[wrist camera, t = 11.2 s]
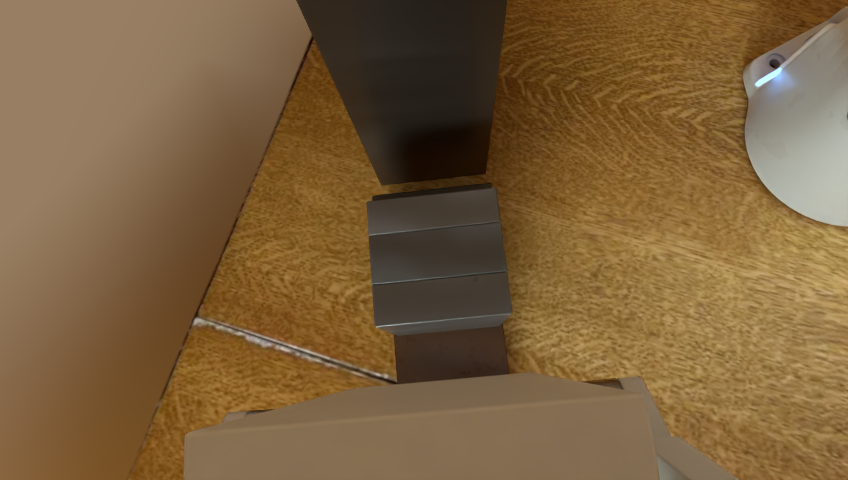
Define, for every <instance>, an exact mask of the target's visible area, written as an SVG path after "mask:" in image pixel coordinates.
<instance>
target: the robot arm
mask: <svg viewBox="0 0 848 480" xmlns="http://www.w3.org/2000/svg"><path fill="white" fill-rule="evenodd" d="M769 64H772V65H773V66H774V67H775V68H772V67H771V66H770V65H769ZM743 81H744V86H745V89H746V93H747V96H748V111H747V116H746V121H745V143H746V148H747V153H748V156H749V159H750V161H751V164H752V166H753V168H754V170H755V171H756V173H757V175H758V176H759V178H760V179H761V181H762V182H763V183H764V185H765V186H766V187H767V188H768V189H769V190H770V191H771V192H772V193H773V194H774V195H775V196H776V197H777V198H778V199H779V200H780V201H782V202H783V203H784V204H786V205H787V206H788V207H790V208H791V209H793V210H795V211H797V212H798V213H800V214H802V215H804V216H806V217H809V218H811V219H814V220H817V221H820V222H823V223H827V224H831V225H837V226H847V227H848V4H847V6H846V7H844V8H843V9H841V10H840V11H838V12H837V13H836V14H834V15H833V16H832V17H831V18H830V19H828V20H826V21H825V22H823V23H821V24H819V25H817V26H815V27H813V28H811V29H810V30H808V31H806V32H804V33H802V34H800V35H798V36H797V37H795V38H793V39H791V40H789V41H787V42H785V43H783V44H782V45H780V46H778V47H776V48H774V49H772V50H770V51H768V52H767V53H765V54H763V55H761V56H759V57H757V58H756V59H754V60H753V61H751V62H750V63H749V64H748V65H747V66H746V67H745V68H744V70H743ZM582 382H585V383H590V384H595V385H601V386H606V387H611V388H617V389H622V390H627V391H632V392H638V393H641V394H643V395H644V396H645V398H646V403H647V409H648V414H649V419H650V425H651V430H652V436H653V441H654V447H655V452H656V458H657V463H658V469H659V474H660V480H739V479H738V478H736V477H735V476H733V475H732V474H731V473H729V472H728V471H727V470H725V469H724V468H722V467H721V466H720V465H718V464H717V463H715V462H714V461H713V460H711V459H710V458H709V457H707V456H706V455H704V454H703V453H702V452H700V451H699V450H697V449H696V448H695V447H693V446H692V445H691V444H689V443H688V442H686V441H685V440H684V439H682V438H681V437H679V436H671V434H670V432H669V430H668V428H667V426H666V424H665V422H664V420H663V418H662V416H661V414H660V412H659V410H658V408H657V406H656V404H655V402H654V400H653V398H652V396H651V394H650V392H649V390H648V388H647V386H646V384H645V382H644V380H643V379H642V378H641V377H640V376H637V377H626V378H617V379H616V378H612V379H602V380H592V381H582ZM270 410H274V409H270ZM270 410H253V411H242V412H229V413H228V414H227V415H226V416H225V418H224V419H223V421H222V423H225V422H229V421H233V420H237V419H240V418H244V417H248V416H252V415H255V414H259V413H263V412H267V411H270Z"/></svg>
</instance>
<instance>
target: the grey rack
mask: <svg viewBox="0 0 848 480" xmlns="http://www.w3.org/2000/svg"><path fill="white" fill-rule="evenodd" d="M367 217H368V232H369V248H370V263H371V278H372V293H373V308H374V323H375V327H377V328H379V329H382V330H384V331H387V332H389V333H392V334H394V343H395V357H396V370H397V384H407V383H418V382H429V381H441V380H452V379H463V378H474V377H485V376H496V375H507V374H509V370H508V362H507V354H506V346H505V338H504V330H503V322H504V321H505V320H506V319H507V318H508V317H509V316H510V315H511V314H512V313H513V312H512V304H511V297H510V289H509V281H508V274H507V266H506V258H505V250H504V242H503V235H502V227H501V222H500V221H501V220H500V212H499V204H498V197H497V189H496V188H492V184H491V183H485V184H476V185H467V186H458V187H449V188H439V189H430V190H421V191H412V192H403V193H394V194H385V195H375V196H372V201H368V202H367Z"/></svg>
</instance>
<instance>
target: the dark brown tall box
mask: <svg viewBox="0 0 848 480" xmlns="http://www.w3.org/2000/svg"><path fill="white" fill-rule="evenodd" d="M296 1H297V3H298V5H299V7H300V9H301V11H302V14H303V16H304V18H305V20H306V22H307V24H308V27H309V29H310V31H311V33H312V35H313V37H314V40H315V42H316V44H317V46H318V48H319V51H320V53H321V55H322V57H323V59H324V61H325V64H326V66H327V68H328V70H329V72H330V74H331V77H332V79H333V81H334V83H335V85H336V87H337V90H338V92H339V94H340V96H341V98H342V101H343V103H344V105H345V107H346V109H347V111H348V114H349V116H350V118H351V120H352V122H353V124H354V127H355V129H356V131H357V133H358V135H359V137H360V140H361V142H362V144H363V146H364V148H365V151H366V153H367V155H368V157H369V159H370V161H371V164H372V166H373V168H374V170H375V172H376V174H377V177H378V179H379V181H380V183H381V185H390V184H399V183H408V182H417V181H426V180H435V179H444V178H453V177H462V176H471V175H480V174H486V168H487V160H488V152H489V144H490V136H491V128H492V120H493V112H494V104H495V96H496V88H497V80H498V72H499V64H500V56H501V48H502V40H503V32H504V24H505V16H506V8H507V0H296Z"/></svg>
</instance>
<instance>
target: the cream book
mask: <svg viewBox="0 0 848 480" xmlns="http://www.w3.org/2000/svg"><path fill="white" fill-rule="evenodd" d="M184 480H660V474H659V469H658V463H657V458H656V452H655V447H654V441H653V436H652V430H651V425H650V419H649V414H648V409H647V403H646V398H645V396H644V395H643V394H641V393H638V392H632V391H627V390H622V389H617V388H611V387H606V386H601V385H595V384H590V383H585V382H580V381H574V380H569V379H564V378H558V377H553V376H548V375H543V374H537V373H532V372H529V373H518V374H507V375H496V376H485V377H474V378H463V379H452V380H441V381H429V382H418V383H407V384H396V385H385V386H374V387H363V388H353V389H349V390H346V391H342V392H338V393H334V394H331V395H327V396H323V397H319V398H315V399H312V400H308V401H304V402H300V403H297V404H293V405H289V406H285V407H282V408H278V409H274V410H270V411H267V412H263V413H259V414H255V415H252V416H248V417H244V418H240V419H237V420H233V421H229V422H225V423H221V424H218V425H214V426H210V427H206V428H203V429H199V430H195V431H191V432H189V433H187V434H186V435H185V444H184Z"/></svg>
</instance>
